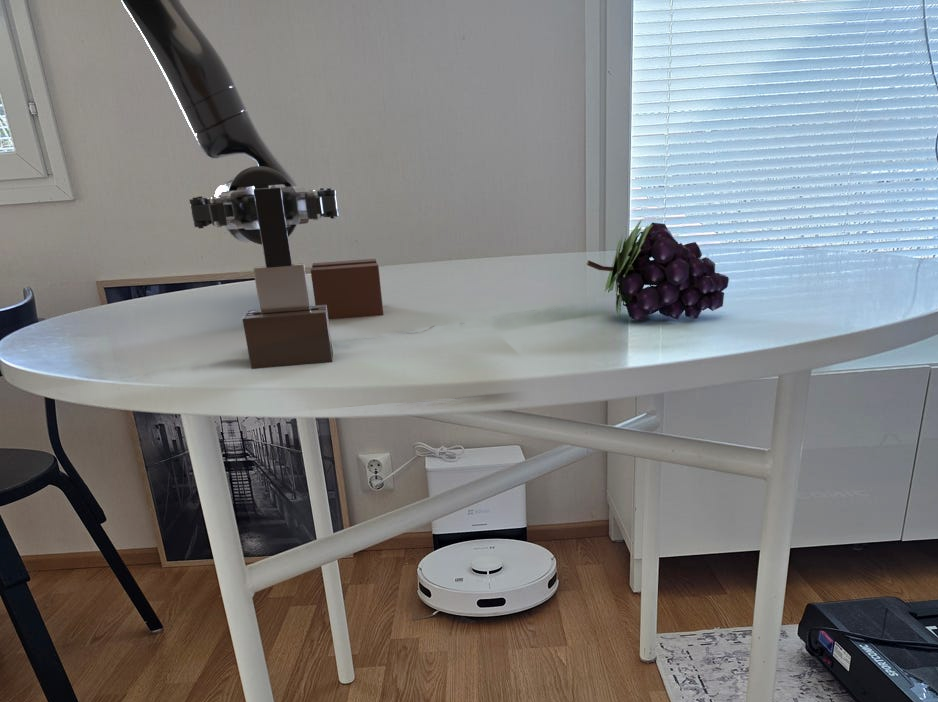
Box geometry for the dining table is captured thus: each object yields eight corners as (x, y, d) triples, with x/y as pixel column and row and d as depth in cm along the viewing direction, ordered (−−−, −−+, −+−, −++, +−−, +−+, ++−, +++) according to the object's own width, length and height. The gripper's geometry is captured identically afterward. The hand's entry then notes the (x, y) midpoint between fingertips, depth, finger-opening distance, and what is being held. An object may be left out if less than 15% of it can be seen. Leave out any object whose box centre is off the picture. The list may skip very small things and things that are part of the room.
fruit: (711, 353, 89) (572, 320, 90) (707, 319, 97) (580, 289, 98) (747, 252, 83) (597, 217, 83) (740, 224, 91) (603, 192, 91)
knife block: (333, 370, 77) (325, 312, 75) (252, 377, 76) (242, 318, 74) (333, 359, 82) (326, 304, 79) (257, 366, 81) (247, 310, 78)
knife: (316, 360, 77) (291, 186, 71) (267, 365, 77) (238, 190, 70) (317, 354, 80) (293, 186, 73) (270, 358, 80) (241, 189, 73)
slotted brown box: (389, 331, 94) (382, 265, 91) (316, 337, 93) (306, 270, 90) (385, 320, 101) (379, 258, 98) (318, 326, 101) (309, 263, 97)
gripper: (188, 170, 91) (180, 169, 77) (321, 162, 94) (337, 159, 80) (203, 247, 95) (198, 259, 81) (331, 237, 97) (347, 247, 84)
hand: (267, 209), depth 80 cm, fingers open, 8 cm apart
